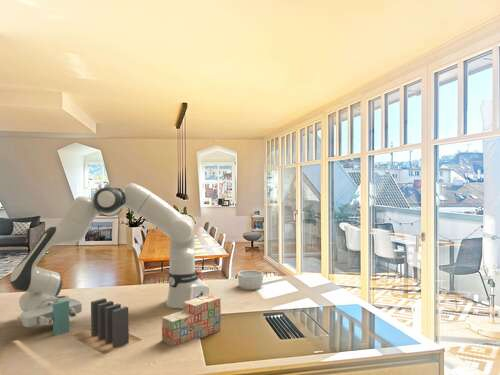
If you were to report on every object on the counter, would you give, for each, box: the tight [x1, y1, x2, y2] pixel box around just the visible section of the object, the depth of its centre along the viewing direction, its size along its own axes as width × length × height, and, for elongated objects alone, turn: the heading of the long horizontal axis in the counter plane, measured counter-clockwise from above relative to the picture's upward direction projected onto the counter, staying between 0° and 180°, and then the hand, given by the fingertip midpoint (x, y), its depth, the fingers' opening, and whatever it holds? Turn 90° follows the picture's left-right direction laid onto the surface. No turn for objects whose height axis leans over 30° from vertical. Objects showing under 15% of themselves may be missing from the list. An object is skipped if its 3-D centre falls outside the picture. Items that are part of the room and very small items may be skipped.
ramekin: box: [237, 269, 264, 291], centre depth 198 cm, size 13×13×7 cm
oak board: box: [70, 328, 143, 355], centre depth 134 cm, size 14×22×1 cm, turn 50°
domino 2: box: [90, 297, 108, 337], centre depth 137 cm, size 5×2×12 cm, turn 140°
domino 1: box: [52, 300, 70, 337], centre depth 138 cm, size 5×2×12 cm, turn 141°
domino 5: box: [112, 306, 130, 348], centre depth 128 cm, size 5×2×12 cm, turn 140°
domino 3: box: [98, 300, 115, 340], centre depth 134 cm, size 5×2×12 cm, turn 140°
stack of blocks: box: [161, 294, 222, 347], centre depth 137 cm, size 21×6×12 cm, turn 137°
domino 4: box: [105, 303, 122, 344], centre depth 131 cm, size 5×2×12 cm, turn 140°
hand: (62, 317), depth 138 cm, fingers open, 7 cm apart
